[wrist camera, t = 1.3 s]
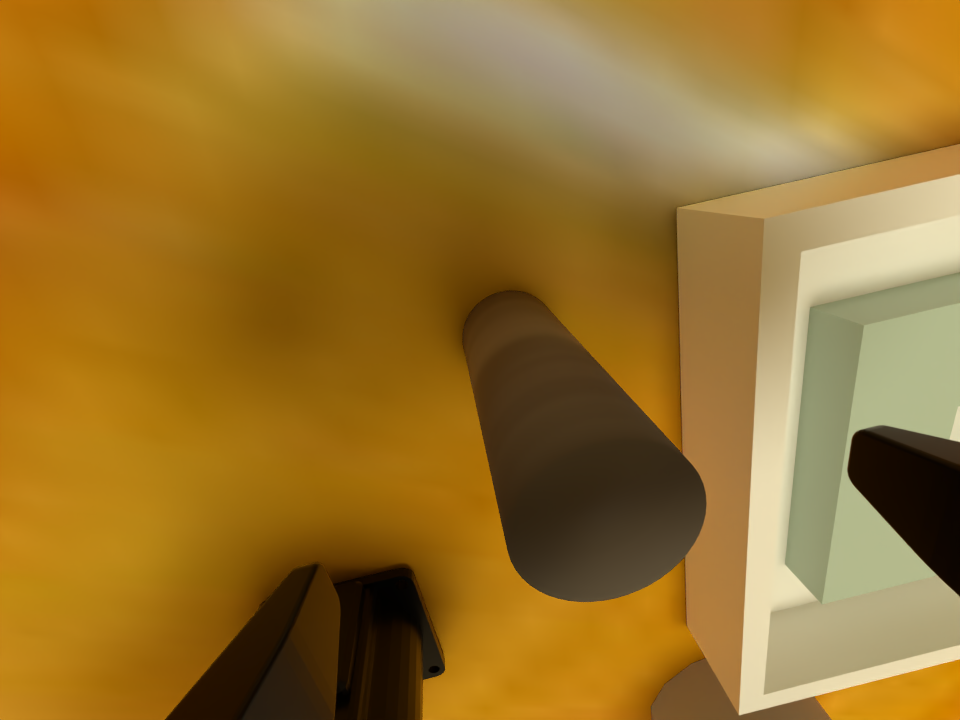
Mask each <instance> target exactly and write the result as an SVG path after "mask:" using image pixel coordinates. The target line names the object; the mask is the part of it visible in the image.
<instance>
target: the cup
mask: <svg viewBox="0 0 960 720" xmlns="http://www.w3.org/2000/svg"><path fill="white" fill-rule="evenodd" d="M651 714H652V720H831V719H830V717H829V716H828V714H827V713H826V712H825V710H824V709H823V708H822V706H821V705H820V704H819V702H818V701H817V700H816V698H815V697H814V696H813V697H809V698H805V699H801V700H797V701H793V702H790V703H786V704H782V705H778V706H774V707H770V708H766V709H762V710H758V711H754V712H750V713H747V714H743V715H738V713H737V711H736V709H735V708H734V706H733V704H732V703H731V701H730V699H729V697H728V696H727V694H726V692H725V691H724V689H723V687H722V685H721V684H720V682H719V680H718V678H717V677H716V675H715V673H714V672H713V670H712V668H711V666H710V665H709V663H708V661H707V660H706V658H705V659H702V660H700V661H697V662H694V663H692V664H690V665H689V666H688V667H686V668H685V669H684V670H683V671H681V672H680V673H679V674H677V675H676V676H675V677H673V678H672V679H671V680H669V681H668V682H667V683H666V684H665V685H664V686H663V688H662V690H661V691H660V693H659V694H658V696H657V698H656V699H655V701H654V703H653V704H652V706H651Z"/></svg>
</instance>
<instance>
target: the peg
mask: <svg viewBox="0 0 960 720" xmlns="http://www.w3.org/2000/svg"><path fill="white" fill-rule="evenodd" d="M463 347H464V352H465V356H466V361H467V366H468V370H469V375H470V379H471V384H472V389H473V393H474V398H475V402H476V407H477V412H478V416H479V421H480V425H481V430H482V435H483V439H484V444H485V448H486V453H487V458H488V462H489V467H490V472H491V476H492V481H493V485H494V490H495V495H496V499H497V504H498V508H499V513H500V518H501V522H502V527H503V531H504V536H505V541H506V545H507V550H508V554H509V557H510V560H511V562H512V564H513V566H514V568H515V569H516V571H517V572H518V573H519V575H520V576H521V577H522V578H523V579H524V580H525V581H526V582H527V583H528V584H529V585H531V586H532V587H534V588H535V589H537V590H538V591H540V592H542V593H544V594H547V595H549V596H552V597H555V598H558V599H563V600H568V601H577V602H594V601H604V600H609V599H614V598H618V597H621V596H625V595H628V594H631V593H633V592H636V591H638V590H640V589H642V588H644V587H646V586H648V585H650V584H652V583H654V582H655V581H657V580H658V579H660V578H661V577H663V576H664V575H665V574H667V573H668V572H669V571H671V570H672V569H673V568H674V567H675V566H676V565H677V564H678V563H679V562H680V561H681V560H682V559H683V558H684V557H685V556H686V555H687V553H688V552H689V550H690V549H691V548H692V546H693V545H694V543H695V541H696V540H697V538H698V536H699V534H700V531H701V529H702V526H703V523H704V519H705V515H706V505H707V502H706V492H705V488H704V484H703V482H702V480H701V477H700V475H699V473H698V472H697V471H696V469H695V468H694V466H693V465H692V464H691V463H690V462H689V461H688V460H687V458H686V457H685V456H684V455H683V454H682V453H681V452H680V451H679V450H678V449H677V448H676V447H675V445H674V444H673V443H672V442H671V441H670V440H669V439H668V438H667V437H666V436H665V435H664V434H663V432H662V431H661V430H660V429H659V428H658V427H657V426H656V425H655V424H654V423H653V422H652V421H651V419H650V418H649V417H648V416H647V415H646V414H645V413H644V412H643V411H642V410H641V409H640V408H639V407H638V405H637V404H636V403H635V402H634V401H633V400H632V399H631V398H630V397H629V396H628V395H627V394H626V392H625V391H624V390H623V389H622V388H621V387H620V386H619V385H618V384H617V383H616V382H615V381H614V379H613V378H612V377H611V376H610V375H609V374H608V373H607V372H606V371H605V370H604V369H603V368H602V366H601V365H600V364H599V363H598V362H597V361H596V360H595V359H594V358H593V357H592V356H591V355H590V353H589V352H588V351H587V350H586V349H585V348H584V347H583V346H582V345H581V344H580V343H579V342H578V340H577V339H576V338H575V337H574V336H573V335H572V334H571V333H570V332H569V331H568V330H567V329H566V327H565V326H564V325H563V324H562V323H561V322H560V321H559V320H558V319H557V318H556V317H555V316H554V314H553V313H552V312H551V311H550V310H549V309H548V308H547V307H546V306H545V305H544V304H543V303H542V302H541V301H540V300H539V299H537V298H536V297H534V296H532V295H530V294H528V293H525V292H520V291H503V292H499V293H495V294H493V295H491V296H488V297H487V298H485V299H483V300H482V301H481V302H480V303H478V304H477V305H476V306H475V307H474V309H473V310H472V311H471V312H470V314H469V316H468V318H467V320H466V322H465V325H464V329H463Z"/></svg>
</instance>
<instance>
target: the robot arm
mask: <svg viewBox="0 0 960 720" xmlns="http://www.w3.org/2000/svg"><path fill="white" fill-rule="evenodd" d="M847 473H848V477H849V479H850V481H851V483H852V484H853V485H854V487H855V488H856V489H857V490H858V491H859V492H860V493H861V494H862V495H863V497H864V498H865V499H866V500H867V501H868V502H869V503H870V504H871V505H872V506H873V507H874V509H875V510H876V511H877V512H878V513H879V514H880V515H881V516H882V517H883V518H884V519H885V521H886V522H887V523H888V524H889V525H890V526H891V527H892V528H893V529H894V530H895V532H896V533H897V534H898V535H899V536H900V537H901V538H902V539H903V540H904V541H905V542H906V544H907V545H908V546H909V547H910V548H911V549H912V550H913V551H914V552H915V553H916V554H917V555H918V557H919V558H920V559H921V560H922V561H923V562H924V563H925V564H926V565H927V566H928V567H929V568H930V569H931V570H932V571H933V572H934V573H935V574H936V575H937V576H938V577H939V578H940V579H941V580H942V581H943V582H944V583H946V584H947V585H948V586H949V587H950V588H951V589H952V590H953V591H954V592H955V593H956V594H957V595H958V596H959V597H960V442H958V441H954V440H949V439H945V438H940V437H936V436H931V435H927V434H922V433H918V432H913V431H909V430H904V429H900V428H895V427H891V426H886V425H878V426H873V427H869V428H865V429H861V430H858V431H856V432H855V433H854V435H853V436H852V439H851V446H850V453H849V459H848V466H847ZM402 580H404V581H402ZM444 671H445V658H444V655H443V653H442V650H441V647H440V644H439V642H438V639H437V636H436V633H435V631H434V628H433V625H432V622H431V620H430V617H429V614H428V611H427V608H426V606H425V603H424V600H423V597H422V595H421V592H420V589H419V586H418V584H417V581H416V578H415V575H414V573H413V572H412V571H411V570H409V569H407V568H398V569H394V570H390V571H386V572H382V573H378V574H374V575H370V576H365V577H361V578H357V579H353V580H349V581H345V582H341V583H337V584H332V582H331V579H330V577H329V575H328V573H327V571H326V569H325V567H324V565H323V564H322V563H319V562H315V563H311V564H307V565H303V566H298V567H296V568H294V569H293V570H292V571H291V572H290V573H289V574H288V576H287V577H286V578H285V579H284V580H283V581H282V583H281V584H280V585H279V586H278V587H277V588H276V590H275V591H274V592H273V593H272V594H271V595H270V597H269V598H268V599H267V600H266V601H264V602H262V603H261V604H260V606H259V609H258V611H257V612H256V613H255V614H254V615H253V617H252V618H251V619H250V620H249V621H248V622H247V624H246V625H245V626H244V627H243V628H242V630H241V631H240V632H239V633H238V634H237V635H236V637H235V638H234V639H233V640H232V641H231V642H230V644H229V645H228V646H227V647H226V648H225V650H224V651H223V652H222V653H221V654H220V655H219V657H218V658H217V659H216V660H215V661H214V662H213V664H212V665H211V666H210V667H209V668H208V669H207V671H206V672H205V673H204V674H203V675H202V677H201V678H200V679H199V680H198V681H197V682H196V684H195V685H194V686H193V687H192V688H191V689H190V691H189V692H188V693H187V694H186V695H185V696H184V698H183V699H182V700H181V701H180V702H179V704H178V705H177V706H176V707H175V708H174V709H173V711H172V712H171V713H170V714H169V715H168V716H167V718H166V719H165V720H422V703H423V680H424V679H428V678H432V677H436V676H439V675H441V674H442V673H443V672H444Z"/></svg>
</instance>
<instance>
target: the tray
mask: <svg viewBox="0 0 960 720" xmlns="http://www.w3.org/2000/svg"><path fill="white" fill-rule="evenodd" d="M677 248H678V289H679V329H680V370H681V411H682V452H683V455H684V456H685V457H686V458H687V460H688V461H689V462H690V463H691V464H692V465H693V466H694V468H695V469H696V471H697V472H698V473H699V475H700V477H701V480H702V482H703V484H704V488H705V492H706V502H707V505H706V515H705V519H704V523H703V526H702V529H701V531H700V534H699V536H698V538H697V540H696V541H695V543H694V545H693V546H692V548H691V549H690V550H689V552H688V553H687V555H686V556H685V575H686V615H687V627H688V629H689V630H690V632H691V634H692V635H693V637H694V639H695V641H696V642H697V644H698V646H699V647H700V649H701V651H702V653H703V654H704V656H705V658H706V660H707V661H708V663H709V665H710V666H711V668H712V670H713V672H714V673H715V675H716V677H717V678H718V680H719V682H720V684H721V685H722V687H723V689H724V691H725V692H726V694H727V696H728V697H729V699H730V701H731V703H732V704H733V706H734V708H735V709H736V711H737V713H738V715H743V714H747V713H750V712H754V711H758V710H762V709H766V708H770V707H774V706H778V705H782V704H786V703H790V702H793V701H797V700H801V699H805V698H809V697H813V696H817V695H821V694H825V693H829V692H833V691H837V690H840V689H844V688H848V687H852V686H856V685H860V684H864V683H868V682H872V681H876V680H880V679H884V678H887V677H891V676H895V675H899V674H903V673H907V672H911V671H915V670H919V669H923V668H927V667H930V666H934V665H938V664H942V663H946V662H950V661H954V660H958V659H960V597H959V596H958V595H957V594H956V593H955V592H954V591H953V590H952V589H951V588H950V587H949V586H948V585H947V584H946V583H944V582H943V581H942V580H941V579H940V578H939V577H938V576H937V575H936V574H935V573H934V572H933V571H932V570H931V569H930V568H929V567H928V566H927V565H926V564H925V563H924V562H923V561H922V560H921V559H920V558H919V557H918V555H917V554H916V553H915V552H914V551H913V550H912V549H911V548H910V547H909V546H908V545H907V544H906V542H905V541H904V540H903V539H902V538H901V537H900V536H899V535H898V534H897V533H896V532H895V530H894V529H893V528H892V527H891V526H890V525H889V524H888V523H887V522H886V521H885V519H884V518H883V517H882V516H881V515H880V514H879V513H878V512H877V511H876V510H875V509H874V507H873V506H872V505H871V504H870V503H869V502H868V501H867V500H866V499H865V498H864V497H863V495H862V494H861V493H860V492H859V491H858V490H857V489H856V488H855V487H854V485H853V484H852V483H851V481H850V479H849V477H848V473H847V466H848V459H849V453H850V446H851V439H852V436H853V435H854V433H855V432H856V431H858V430H861V429H865V428H869V427H873V426H878V425H886V426H891V427H895V428H900V429H904V430H909V431H913V432H918V433H922V434H927V435H931V436H936V437H940V438H945V439H949V440H954V441H958V442H960V144H957V145H953V146H948V147H944V148H939V149H935V150H930V151H926V152H922V153H917V154H913V155H908V156H904V157H899V158H895V159H891V160H886V161H882V162H877V163H873V164H868V165H864V166H860V167H855V168H851V169H846V170H842V171H838V172H833V173H829V174H824V175H820V176H815V177H811V178H807V179H802V180H798V181H793V182H789V183H784V184H780V185H776V186H771V187H767V188H762V189H758V190H753V191H749V192H745V193H740V194H736V195H731V196H727V197H722V198H718V199H714V200H709V201H705V202H700V203H696V204H692V205H687V206H683V207H678V208H677Z"/></svg>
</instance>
